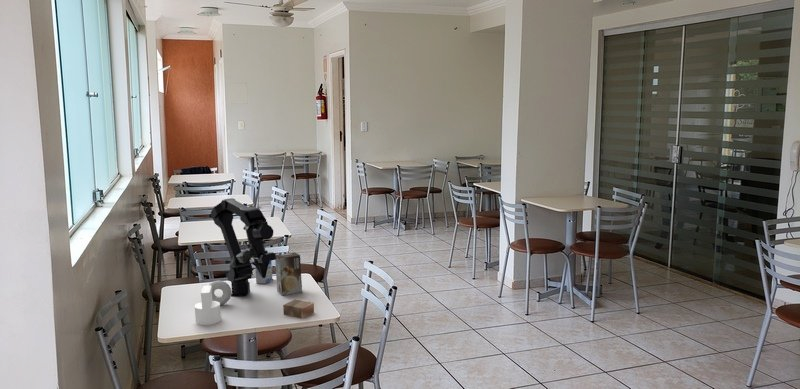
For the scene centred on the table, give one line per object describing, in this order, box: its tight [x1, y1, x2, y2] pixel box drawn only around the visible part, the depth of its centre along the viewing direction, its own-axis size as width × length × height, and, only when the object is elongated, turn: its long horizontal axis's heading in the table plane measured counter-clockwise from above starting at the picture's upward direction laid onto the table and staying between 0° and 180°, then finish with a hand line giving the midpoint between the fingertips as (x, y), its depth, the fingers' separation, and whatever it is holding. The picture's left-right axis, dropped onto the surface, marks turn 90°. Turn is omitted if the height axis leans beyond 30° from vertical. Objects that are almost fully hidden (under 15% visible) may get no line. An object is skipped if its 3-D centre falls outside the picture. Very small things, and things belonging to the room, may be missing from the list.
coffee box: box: [274, 251, 303, 296], centre depth 259 cm, size 9×6×16 cm
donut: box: [207, 280, 232, 306], centre depth 244 cm, size 10×4×10 cm, turn 101°
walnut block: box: [282, 298, 315, 319], centre depth 234 cm, size 4×7×9 cm
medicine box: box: [254, 261, 273, 285], centre depth 275 cm, size 8×4×9 cm, turn 168°
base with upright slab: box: [194, 284, 222, 326], centre depth 227 cm, size 9×9×12 cm
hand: (263, 277), depth 246 cm, fingers closed
